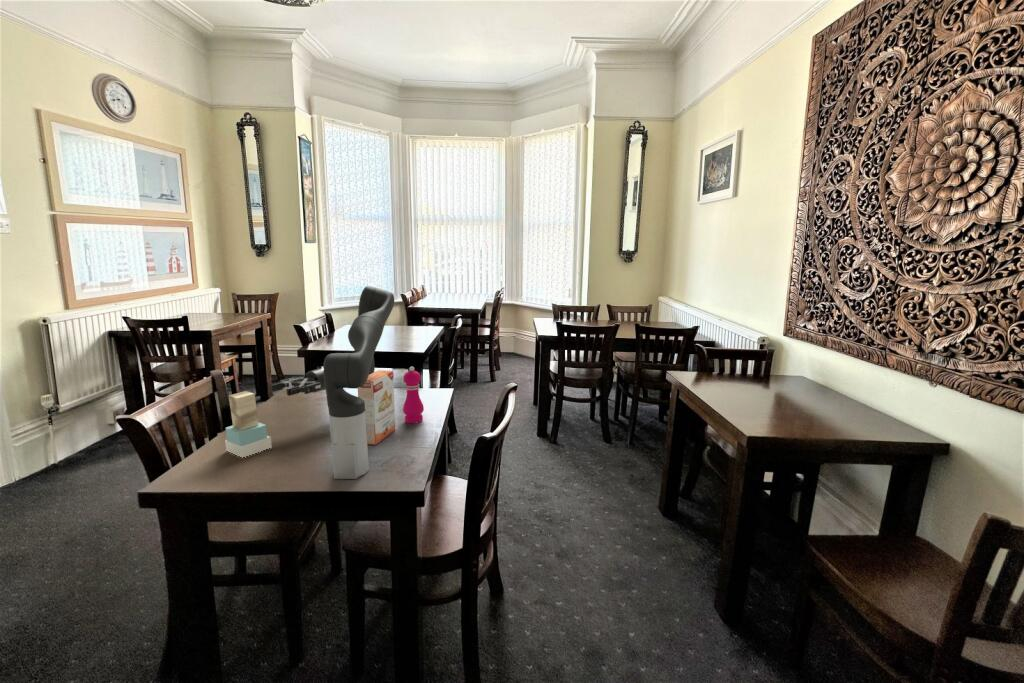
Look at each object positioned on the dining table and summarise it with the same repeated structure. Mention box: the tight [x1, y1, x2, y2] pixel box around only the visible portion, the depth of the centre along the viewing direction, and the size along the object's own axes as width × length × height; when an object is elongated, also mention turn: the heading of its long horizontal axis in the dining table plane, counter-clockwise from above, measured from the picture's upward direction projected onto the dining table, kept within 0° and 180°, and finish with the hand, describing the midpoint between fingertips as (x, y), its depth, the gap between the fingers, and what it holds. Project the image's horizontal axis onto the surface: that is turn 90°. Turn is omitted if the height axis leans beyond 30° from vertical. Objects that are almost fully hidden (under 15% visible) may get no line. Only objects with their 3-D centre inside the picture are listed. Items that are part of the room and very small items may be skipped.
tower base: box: [224, 435, 273, 459], centre depth 143 cm, size 9×9×4 cm
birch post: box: [228, 390, 259, 430], centre depth 141 cm, size 5×5×10 cm
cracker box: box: [357, 369, 396, 446], centre depth 152 cm, size 14×6×21 cm, turn 168°
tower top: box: [225, 421, 268, 446], centre depth 142 cm, size 8×8×4 cm
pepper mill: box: [402, 366, 425, 424], centre depth 166 cm, size 7×7×20 cm
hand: (279, 390), depth 150 cm, fingers open, 8 cm apart
